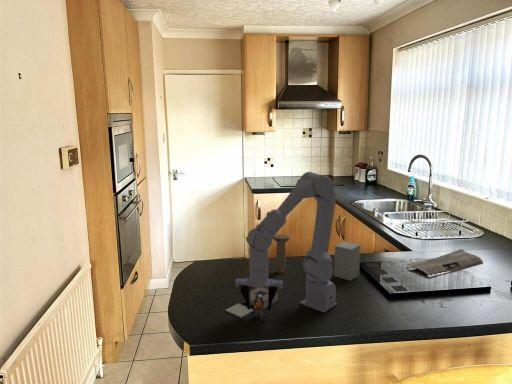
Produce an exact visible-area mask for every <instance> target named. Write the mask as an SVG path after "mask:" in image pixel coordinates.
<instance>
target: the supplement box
mask: <svg viewBox="0 0 512 384" xmlns="http://www.w3.org/2000/svg"><path fill="white" fill-rule="evenodd" d="M360 258H361V245H360V244H357V243H352V242H347V241H342V242H341V243H338V244H336V245H335V246H334V271H333V274H334V277H337V278H340V279H342V280H347V281H352V280H354V279H356V278H357V277H359V276H360V261H361V259H360Z"/></svg>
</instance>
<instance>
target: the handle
mask: <svg viewBox="0 0 512 384" xmlns="http://www.w3.org/2000/svg"><path fill="white" fill-rule="evenodd" d="M273 240H274V241H275V242H276V251H275V252H276V255H275V265H276V272H277V273H278V274H284V273H285V271H286V265H287V264H286V263H287V260H286V259H287V257H286V242H288V241H289V240H290V236H289V235H285V234H275V235H274V236H273V239H272V241H273Z"/></svg>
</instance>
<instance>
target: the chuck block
mask: <svg viewBox="0 0 512 384" xmlns="http://www.w3.org/2000/svg"><path fill="white" fill-rule="evenodd" d="M268 290H269V288H267V287H255V288H254V289H252V290H250V306H253V307H254V299H255V295H256V294H262V295H263V299H264V309H263V310H265V309H266V308H268ZM278 299H279V293H278V292H276V294H275V296H274V298H273V301H272V304H271V306H272V305H273V303H274V304H275V303H277V302H278ZM244 303H245V304H246V302H245V301H244Z"/></svg>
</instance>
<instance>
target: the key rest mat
mask: <svg viewBox="0 0 512 384" xmlns="http://www.w3.org/2000/svg"><path fill="white" fill-rule="evenodd" d="M254 311H255V309H253V308H251V307H250V309H249V310H248V309H247V305H243V304H241V303H238V302H237V303H236V304H234V305H232V306H231V307H229V308H226V309H225V312H227V313H229V314H232V315H233V316H235V317H238V318H240V319H242V318H244V317H246V316H247V315H249V314H252V313H253V312H254Z"/></svg>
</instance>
